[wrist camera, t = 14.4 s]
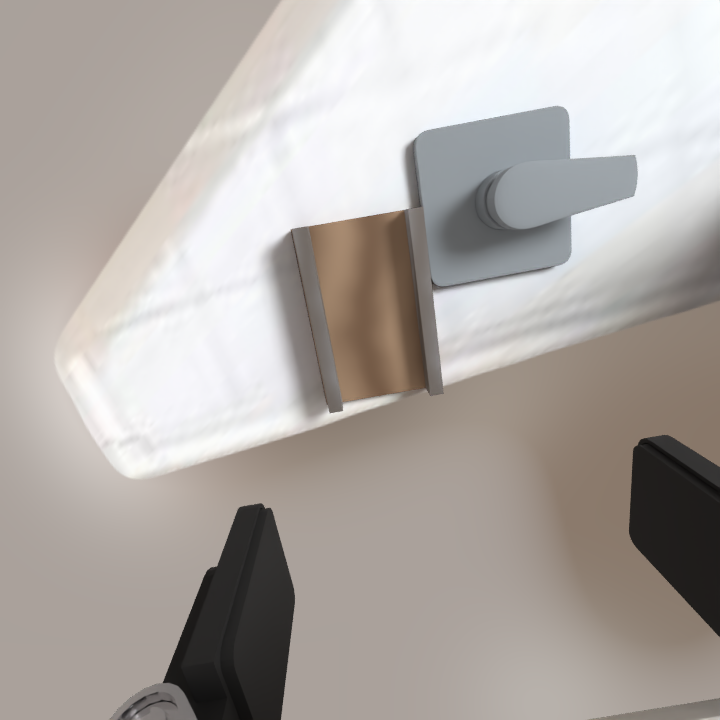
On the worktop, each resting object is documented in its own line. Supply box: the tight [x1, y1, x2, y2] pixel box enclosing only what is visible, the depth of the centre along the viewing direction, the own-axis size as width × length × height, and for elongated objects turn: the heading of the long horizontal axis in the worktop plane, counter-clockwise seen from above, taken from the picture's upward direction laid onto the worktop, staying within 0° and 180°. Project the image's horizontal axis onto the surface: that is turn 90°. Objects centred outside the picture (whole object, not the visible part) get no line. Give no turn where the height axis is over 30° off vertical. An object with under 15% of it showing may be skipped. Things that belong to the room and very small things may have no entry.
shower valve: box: [413, 106, 638, 287], centre depth 32 cm, size 12×6×15 cm
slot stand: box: [291, 206, 443, 413], centre depth 36 cm, size 11×16×3 cm
